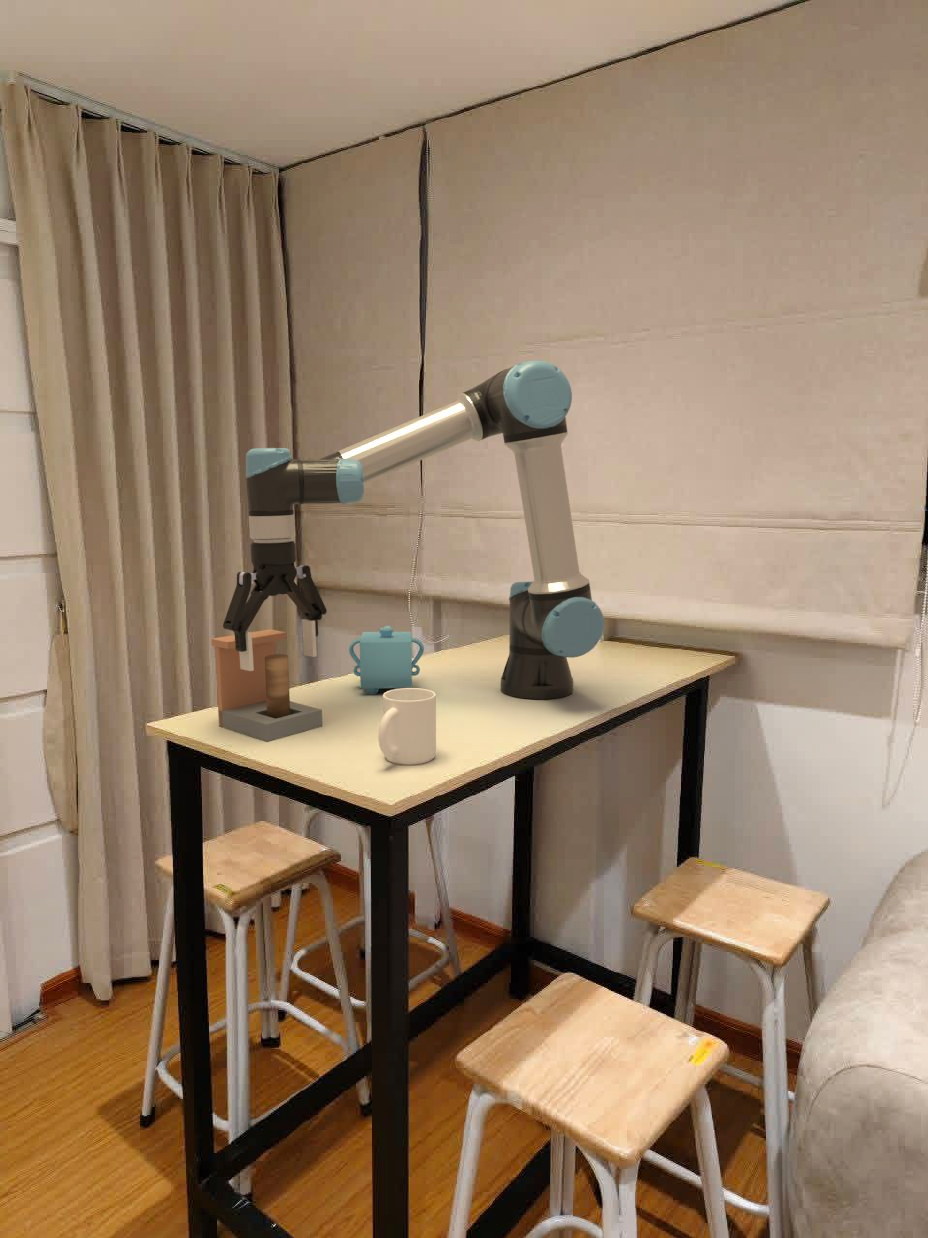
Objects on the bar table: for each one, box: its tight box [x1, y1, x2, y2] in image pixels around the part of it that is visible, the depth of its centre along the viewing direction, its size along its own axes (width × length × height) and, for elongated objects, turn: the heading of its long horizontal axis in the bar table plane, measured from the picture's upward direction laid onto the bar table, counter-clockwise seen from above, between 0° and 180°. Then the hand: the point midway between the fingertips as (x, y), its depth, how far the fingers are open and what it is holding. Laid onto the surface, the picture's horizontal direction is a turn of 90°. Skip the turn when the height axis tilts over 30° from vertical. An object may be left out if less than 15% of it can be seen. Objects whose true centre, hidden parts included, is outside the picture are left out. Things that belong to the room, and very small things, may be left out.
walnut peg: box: [265, 653, 291, 719], centre depth 150 cm, size 4×4×13 cm
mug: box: [377, 687, 437, 766], centre depth 133 cm, size 12×8×10 cm
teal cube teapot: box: [348, 625, 425, 695], centre depth 181 cm, size 18×16×13 cm
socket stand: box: [211, 628, 323, 742], centre depth 151 cm, size 15×13×16 cm
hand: (279, 662), depth 149 cm, fingers open, 13 cm apart
